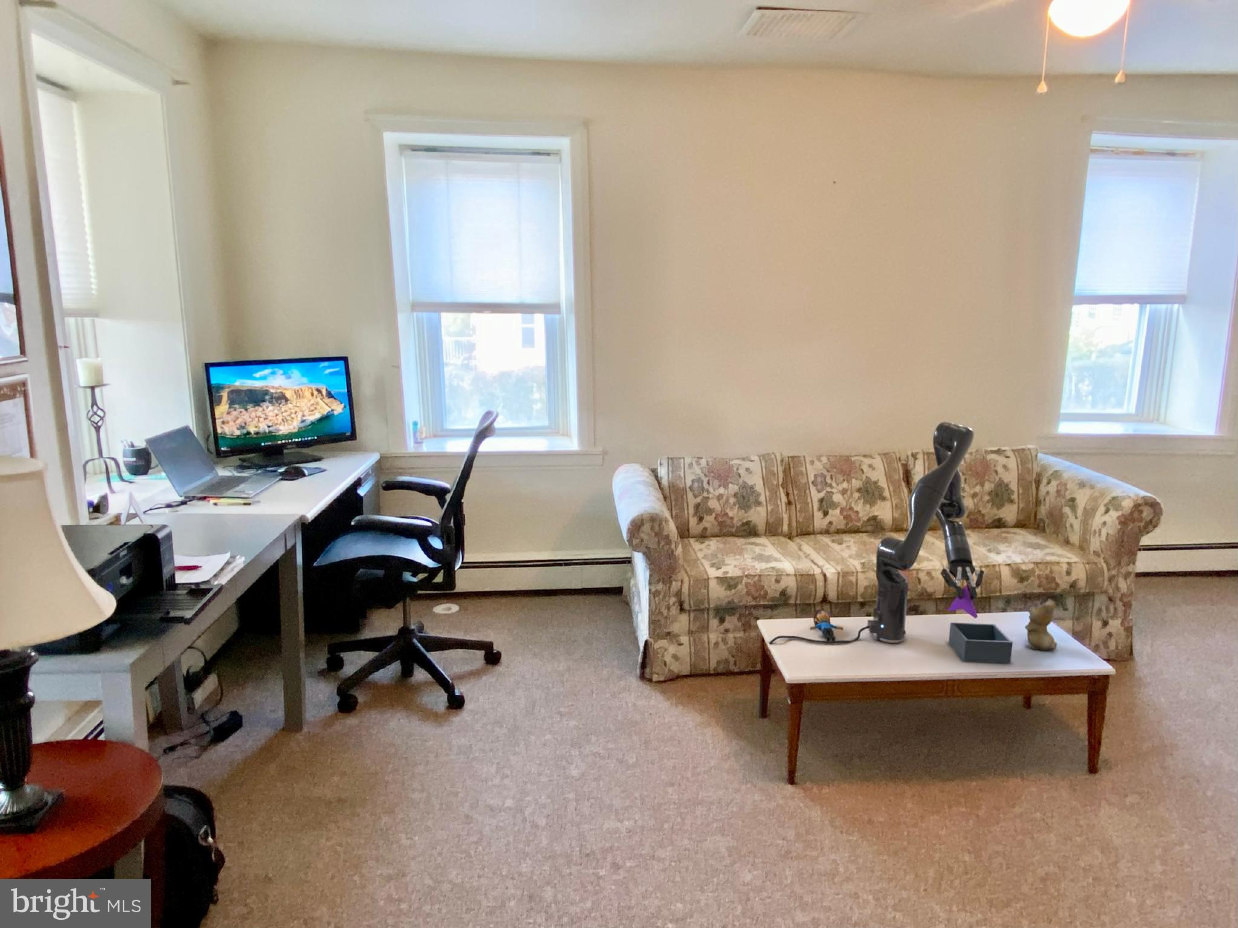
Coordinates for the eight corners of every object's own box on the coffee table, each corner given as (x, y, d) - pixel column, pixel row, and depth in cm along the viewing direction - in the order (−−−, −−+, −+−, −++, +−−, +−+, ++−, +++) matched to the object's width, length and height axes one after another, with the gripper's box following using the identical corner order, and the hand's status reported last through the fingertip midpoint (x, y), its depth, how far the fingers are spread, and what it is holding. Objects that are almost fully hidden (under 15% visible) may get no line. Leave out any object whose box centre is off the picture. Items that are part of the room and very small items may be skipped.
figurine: (1018, 637, 245) (1023, 593, 242) (1047, 640, 243) (1052, 596, 240) (1028, 650, 235) (1033, 605, 232) (1058, 653, 234) (1064, 607, 231)
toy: (814, 633, 240) (804, 605, 253) (812, 648, 242) (802, 619, 256) (849, 633, 240) (836, 605, 253) (846, 648, 242) (834, 619, 256)
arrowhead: (960, 627, 247) (940, 601, 250) (962, 625, 248) (942, 599, 252) (985, 612, 241) (964, 586, 244) (986, 611, 242) (966, 585, 245)
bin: (963, 661, 228) (965, 640, 226) (948, 642, 241) (950, 622, 240) (1010, 663, 227) (1012, 642, 225) (992, 644, 240) (994, 624, 238)
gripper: (939, 545, 251) (948, 593, 241) (983, 547, 249) (994, 595, 240) (933, 555, 257) (941, 602, 247) (975, 557, 256) (986, 604, 246)
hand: (967, 598), depth 244 cm, fingers closed on arrowhead, 3 cm apart
